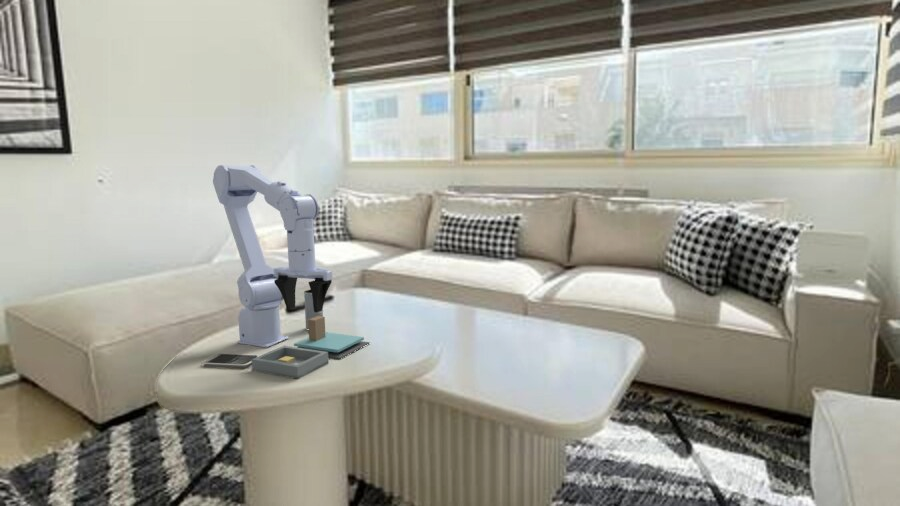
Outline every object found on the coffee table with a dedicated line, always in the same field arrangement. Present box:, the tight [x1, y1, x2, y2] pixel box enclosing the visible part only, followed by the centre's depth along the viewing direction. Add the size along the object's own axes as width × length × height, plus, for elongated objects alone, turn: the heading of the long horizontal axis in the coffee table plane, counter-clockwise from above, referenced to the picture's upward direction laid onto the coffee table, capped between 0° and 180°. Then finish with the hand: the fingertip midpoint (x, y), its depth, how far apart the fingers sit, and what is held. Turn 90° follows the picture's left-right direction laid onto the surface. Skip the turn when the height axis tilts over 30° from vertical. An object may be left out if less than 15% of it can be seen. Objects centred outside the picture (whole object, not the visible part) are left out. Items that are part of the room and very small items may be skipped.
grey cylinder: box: [303, 288, 324, 329], centre depth 145 cm, size 4×4×10 cm
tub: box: [251, 345, 329, 380], centre depth 116 cm, size 12×10×2 cm
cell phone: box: [200, 353, 259, 370], centre depth 120 cm, size 6×11×1 cm, turn 80°
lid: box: [293, 316, 365, 353], centre depth 129 cm, size 12×10×6 cm
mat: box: [296, 340, 371, 360], centre depth 129 cm, size 14×12×1 cm
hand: (304, 309), depth 123 cm, fingers open, 7 cm apart
